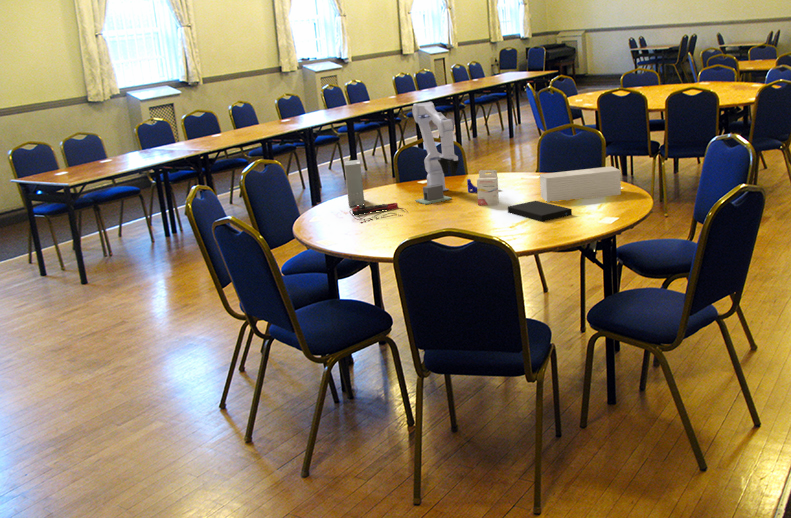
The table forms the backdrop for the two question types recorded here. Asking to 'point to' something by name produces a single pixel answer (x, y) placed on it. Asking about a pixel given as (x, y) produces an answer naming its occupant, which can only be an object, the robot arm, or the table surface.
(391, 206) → the digital clamp meter
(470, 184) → the cable clip
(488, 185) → the ink cartridge box
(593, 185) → the long white block
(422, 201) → the board
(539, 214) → the external hard drive
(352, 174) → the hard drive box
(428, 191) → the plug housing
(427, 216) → the table surface
